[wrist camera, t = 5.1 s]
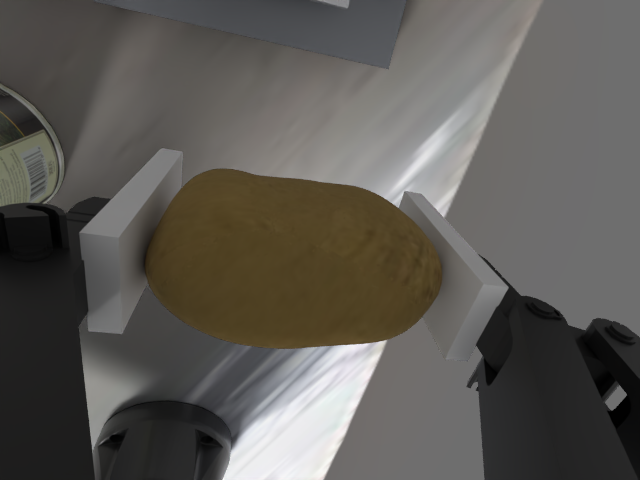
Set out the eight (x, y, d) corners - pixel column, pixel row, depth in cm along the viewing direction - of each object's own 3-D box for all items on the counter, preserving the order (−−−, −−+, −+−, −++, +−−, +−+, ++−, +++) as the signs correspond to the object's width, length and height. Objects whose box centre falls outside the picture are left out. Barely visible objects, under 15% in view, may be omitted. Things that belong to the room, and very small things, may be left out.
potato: (151, 187, 14) (36, 334, 7) (316, 65, 13) (371, 102, 6) (263, 301, 17) (259, 478, 10) (405, 214, 16) (508, 352, 9)
